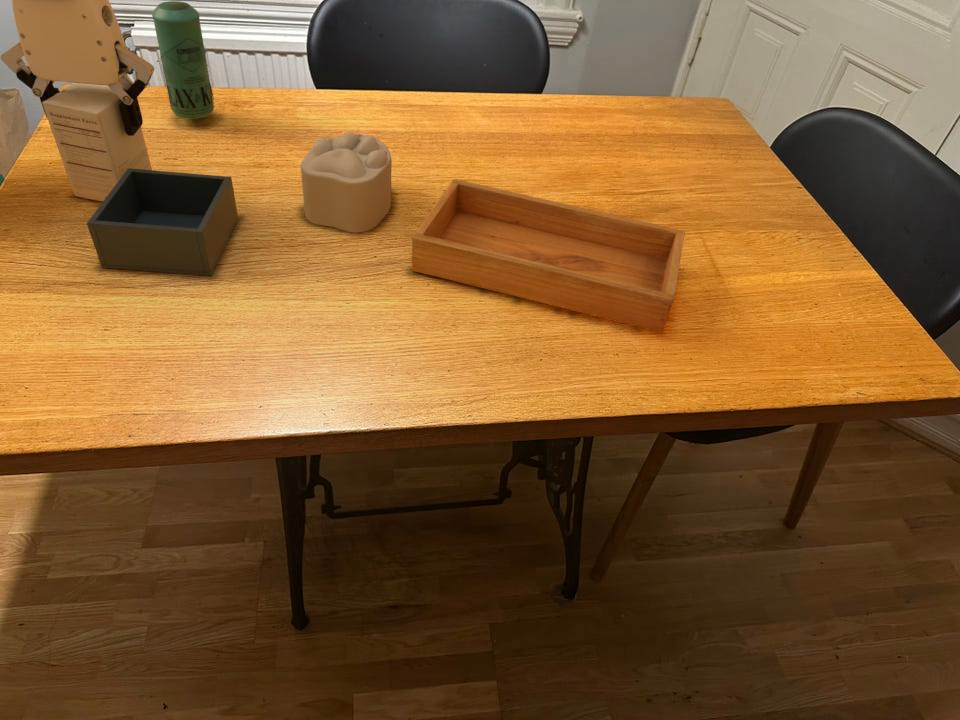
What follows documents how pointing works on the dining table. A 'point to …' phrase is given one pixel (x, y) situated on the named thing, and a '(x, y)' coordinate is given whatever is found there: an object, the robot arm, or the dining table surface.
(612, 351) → the dining table surface
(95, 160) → the white packaging box
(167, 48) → the beverage bottle
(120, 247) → the dark grey storage bin
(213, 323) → the dining table surface
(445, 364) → the dining table surface
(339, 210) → the lumpy-topped squat cylinder
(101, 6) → the robot arm
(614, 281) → the tray
